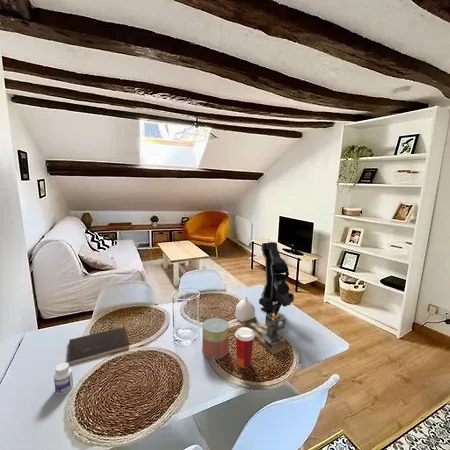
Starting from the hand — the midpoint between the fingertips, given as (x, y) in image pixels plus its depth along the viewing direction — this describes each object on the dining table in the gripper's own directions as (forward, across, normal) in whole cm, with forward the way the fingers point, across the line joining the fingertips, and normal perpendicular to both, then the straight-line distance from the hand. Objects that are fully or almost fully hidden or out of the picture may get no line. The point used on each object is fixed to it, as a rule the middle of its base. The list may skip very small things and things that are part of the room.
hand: (275, 314), depth 130 cm
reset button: (+4, 0, 0) cm, 4 cm away
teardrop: (+7, -8, +15) cm, 18 cm away
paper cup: (+6, -30, -14) cm, 34 cm away
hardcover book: (+7, -79, +27) cm, 84 cm away
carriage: (+5, -12, -11) cm, 17 cm away
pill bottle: (+7, -92, +7) cm, 93 cm away
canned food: (+7, -36, -1) cm, 37 cm away
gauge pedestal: (+6, 0, 0) cm, 6 cm away
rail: (+6, -12, -5) cm, 14 cm away
